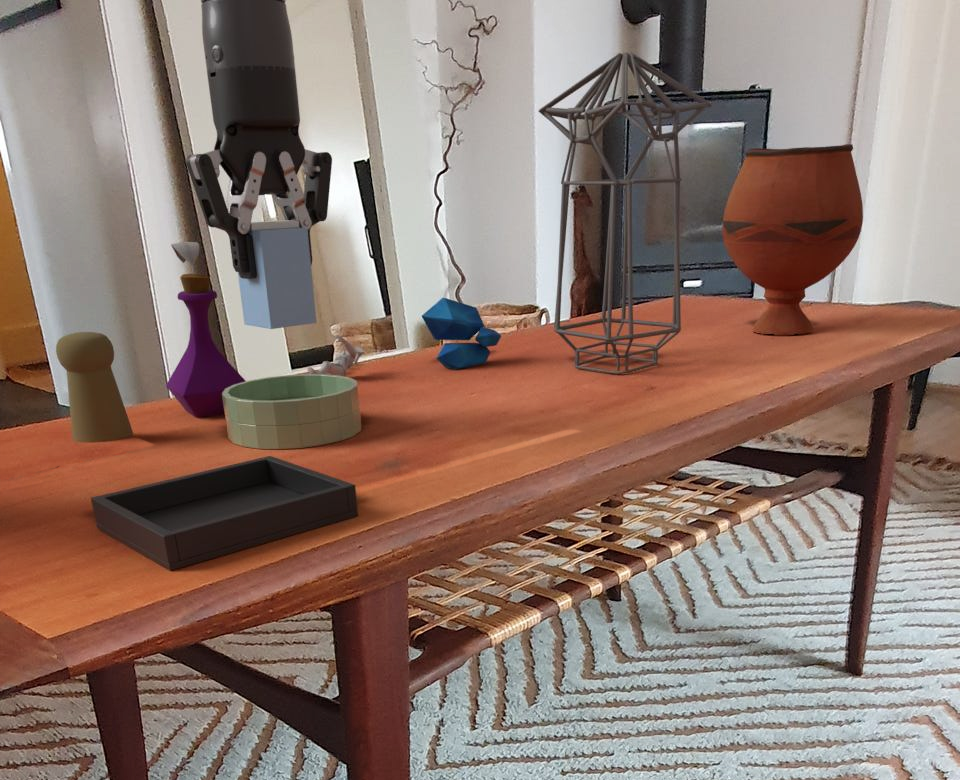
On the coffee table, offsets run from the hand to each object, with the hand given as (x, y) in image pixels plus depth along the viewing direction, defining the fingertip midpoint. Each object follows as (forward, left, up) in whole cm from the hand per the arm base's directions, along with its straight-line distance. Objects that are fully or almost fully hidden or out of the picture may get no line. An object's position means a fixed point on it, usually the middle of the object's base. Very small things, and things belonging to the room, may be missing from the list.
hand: (274, 274), depth 91 cm
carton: (0, 0, -4) cm, 4 cm away
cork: (-15, +12, -16) cm, 25 cm away
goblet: (+84, -2, -16) cm, 86 cm away
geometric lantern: (+48, -1, -16) cm, 51 cm away
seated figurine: (+18, +20, -16) cm, 31 cm away
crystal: (+36, +16, -16) cm, 43 cm away
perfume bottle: (-1, +16, -16) cm, 23 cm away
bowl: (0, 0, -15) cm, 16 cm away
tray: (-18, -19, -15) cm, 30 cm away
